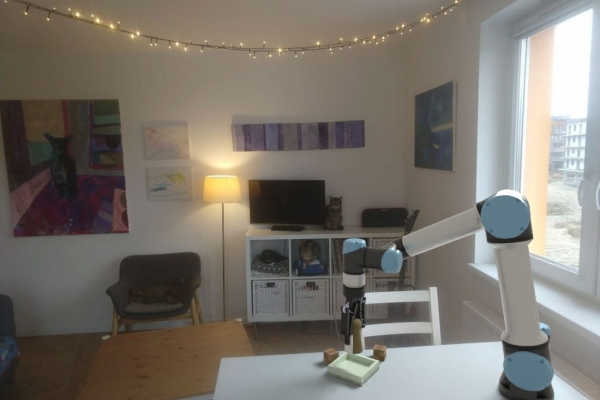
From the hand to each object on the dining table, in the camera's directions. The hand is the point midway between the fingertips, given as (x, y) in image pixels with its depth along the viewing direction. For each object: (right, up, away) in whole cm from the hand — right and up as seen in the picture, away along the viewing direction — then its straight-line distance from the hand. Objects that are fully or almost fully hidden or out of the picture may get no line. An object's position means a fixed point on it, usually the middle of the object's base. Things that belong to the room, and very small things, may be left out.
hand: (353, 348), depth 140 cm
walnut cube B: (-7, -8, +8) cm, 13 cm away
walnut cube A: (+11, -7, +10) cm, 17 cm away
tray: (0, -8, +1) cm, 8 cm away
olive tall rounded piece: (0, -1, 0) cm, 1 cm away
